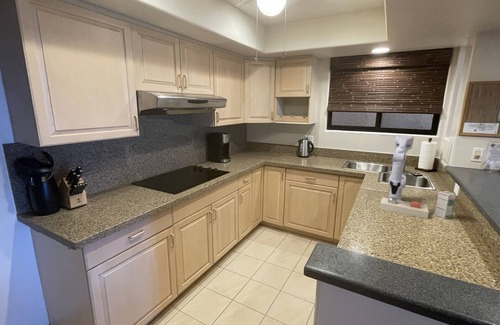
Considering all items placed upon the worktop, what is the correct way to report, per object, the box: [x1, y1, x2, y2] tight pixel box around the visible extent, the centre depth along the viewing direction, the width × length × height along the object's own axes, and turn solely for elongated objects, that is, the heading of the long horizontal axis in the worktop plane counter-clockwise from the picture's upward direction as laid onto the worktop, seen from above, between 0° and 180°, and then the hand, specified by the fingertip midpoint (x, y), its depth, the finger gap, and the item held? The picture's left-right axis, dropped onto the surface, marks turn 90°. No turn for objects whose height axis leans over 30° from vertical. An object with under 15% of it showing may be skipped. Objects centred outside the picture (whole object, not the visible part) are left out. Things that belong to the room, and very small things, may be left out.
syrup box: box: [434, 190, 457, 219], centre depth 140 cm, size 6×6×14 cm
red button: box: [410, 200, 422, 208], centre depth 145 cm, size 5×5×5 cm
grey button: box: [387, 196, 398, 204], centre depth 151 cm, size 5×5×5 cm
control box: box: [379, 197, 430, 220], centre depth 149 cm, size 12×24×4 cm, turn 58°
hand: (393, 193), depth 150 cm, fingers closed
